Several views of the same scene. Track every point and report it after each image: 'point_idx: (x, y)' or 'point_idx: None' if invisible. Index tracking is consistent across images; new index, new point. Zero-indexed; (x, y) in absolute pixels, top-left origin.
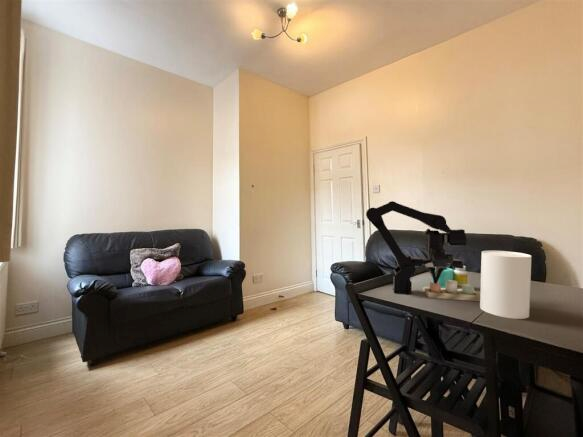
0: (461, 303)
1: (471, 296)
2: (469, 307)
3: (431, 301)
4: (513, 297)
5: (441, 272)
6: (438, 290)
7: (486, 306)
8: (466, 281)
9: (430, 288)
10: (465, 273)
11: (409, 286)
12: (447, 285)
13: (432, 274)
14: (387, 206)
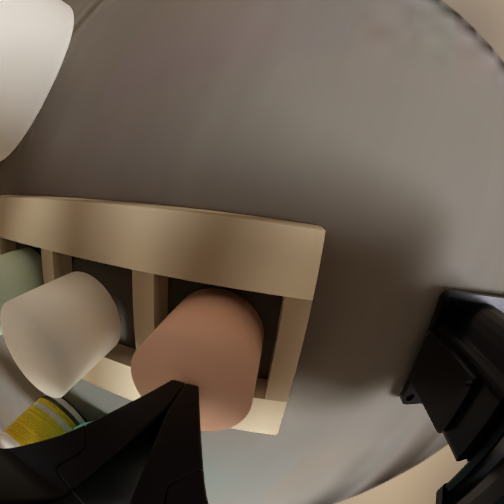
0: (106, 110)
1: (19, 203)
2: (103, 50)
3: (333, 108)
4: None
5: (21, 447)
6: (188, 303)
7: (56, 12)
8: (24, 412)
9: (258, 352)
10: (1, 435)
11: (466, 348)
12: (79, 326)
13: (199, 489)
14: None
